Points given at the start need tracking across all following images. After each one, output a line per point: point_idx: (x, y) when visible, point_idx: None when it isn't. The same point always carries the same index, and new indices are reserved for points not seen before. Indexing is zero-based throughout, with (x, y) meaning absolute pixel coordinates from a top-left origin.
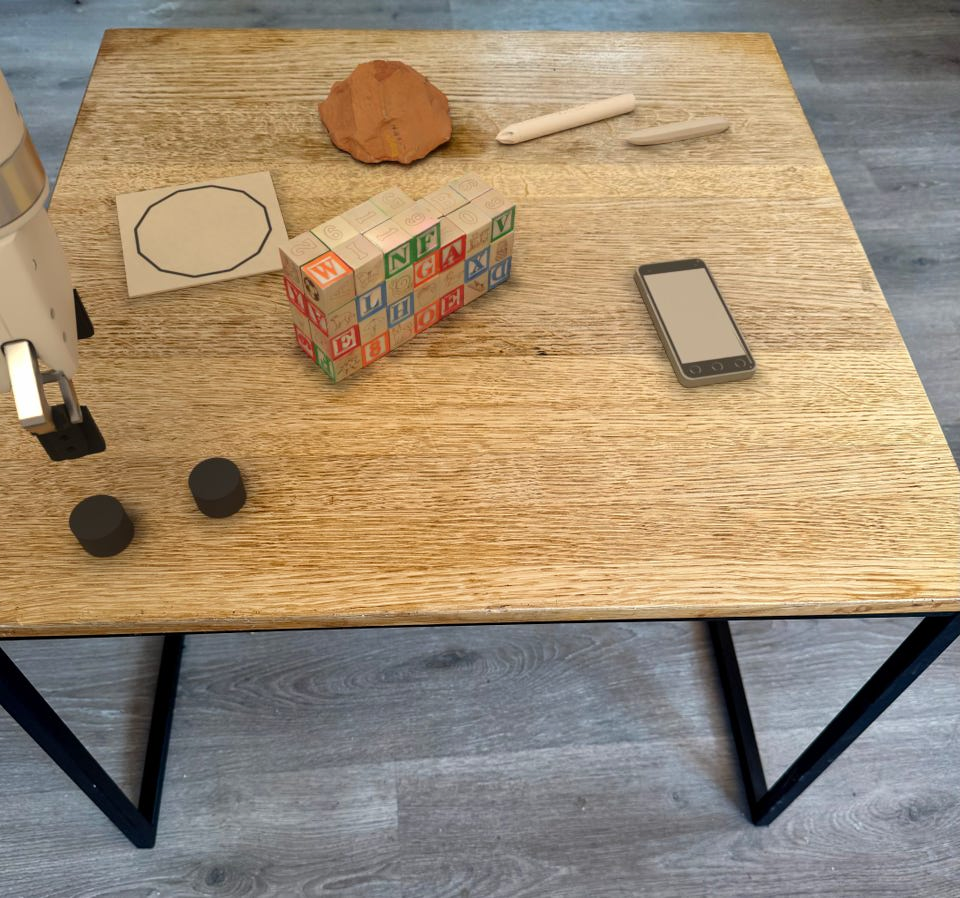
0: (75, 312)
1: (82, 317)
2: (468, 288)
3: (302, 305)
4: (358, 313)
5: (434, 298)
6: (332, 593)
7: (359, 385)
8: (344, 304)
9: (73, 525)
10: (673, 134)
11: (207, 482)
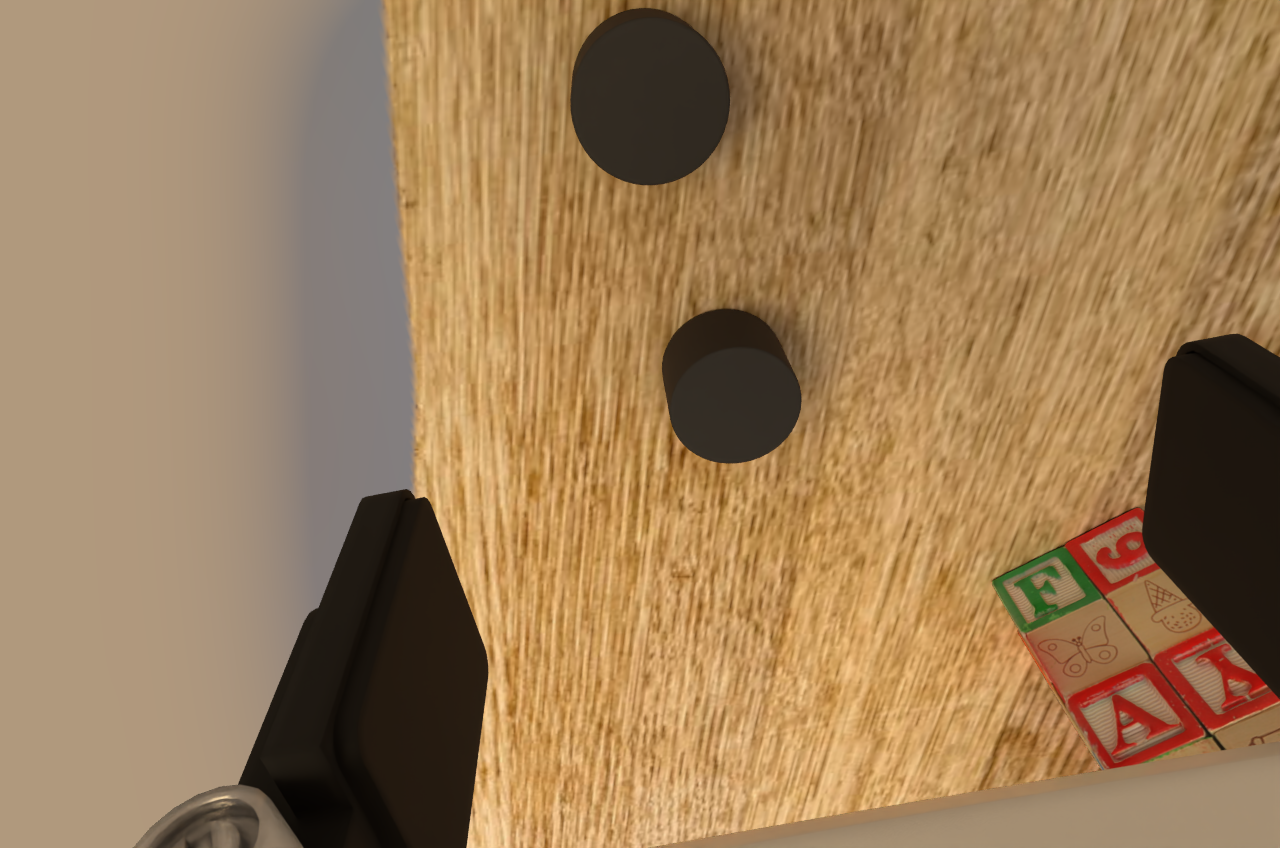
0: (1274, 663)
1: (1236, 644)
2: None
3: (1193, 669)
4: None
5: None
6: (460, 578)
7: (970, 620)
8: None
9: (624, 37)
10: None
11: (724, 393)
